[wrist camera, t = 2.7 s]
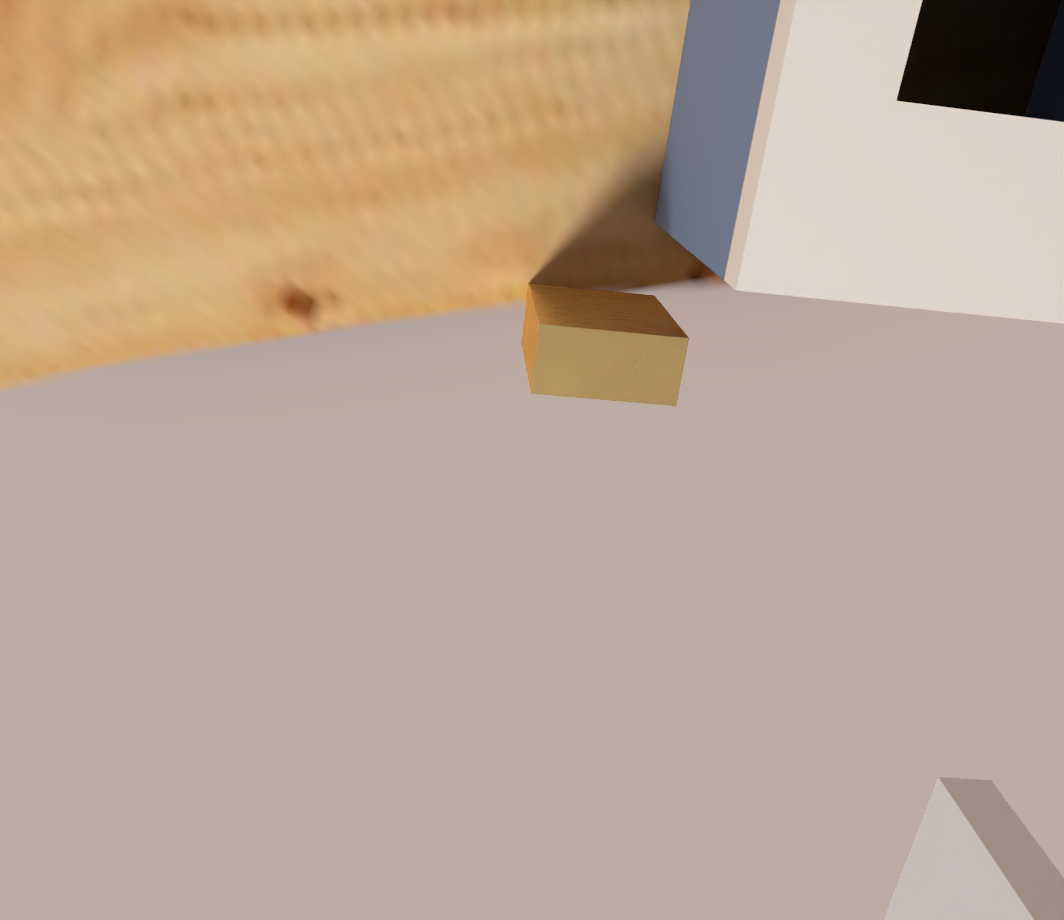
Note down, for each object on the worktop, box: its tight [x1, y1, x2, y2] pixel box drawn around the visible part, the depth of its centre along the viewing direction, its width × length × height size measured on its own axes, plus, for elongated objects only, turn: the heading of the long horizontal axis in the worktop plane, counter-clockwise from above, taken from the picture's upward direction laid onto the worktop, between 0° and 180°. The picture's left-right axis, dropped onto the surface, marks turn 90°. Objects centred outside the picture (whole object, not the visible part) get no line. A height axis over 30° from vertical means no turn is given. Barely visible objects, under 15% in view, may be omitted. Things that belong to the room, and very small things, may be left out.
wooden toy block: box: [522, 283, 689, 406], centre depth 32 cm, size 5×2×6 cm, turn 84°
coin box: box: [654, 0, 1064, 323], centre depth 26 cm, size 14×14×11 cm
